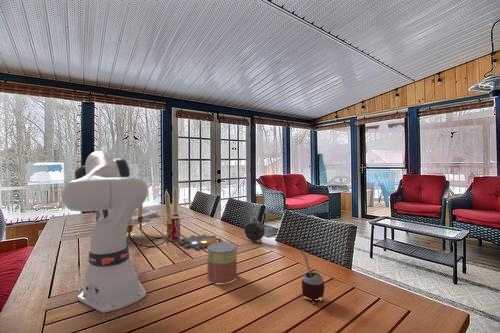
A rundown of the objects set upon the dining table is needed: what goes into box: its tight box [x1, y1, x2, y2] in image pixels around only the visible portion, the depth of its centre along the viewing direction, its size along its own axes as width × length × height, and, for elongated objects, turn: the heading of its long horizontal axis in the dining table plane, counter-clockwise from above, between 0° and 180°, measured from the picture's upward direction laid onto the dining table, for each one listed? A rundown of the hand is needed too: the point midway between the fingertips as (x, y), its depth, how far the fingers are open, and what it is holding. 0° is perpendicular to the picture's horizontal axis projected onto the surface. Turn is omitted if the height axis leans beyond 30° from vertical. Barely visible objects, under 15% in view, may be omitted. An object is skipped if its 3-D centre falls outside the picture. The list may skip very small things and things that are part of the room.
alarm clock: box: [244, 212, 266, 242], centre depth 139 cm, size 11×5×16 cm, turn 58°
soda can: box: [166, 215, 181, 242], centre depth 143 cm, size 7×7×13 cm
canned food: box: [206, 241, 238, 283], centre depth 97 cm, size 11×11×12 cm
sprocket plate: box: [179, 234, 222, 250], centre depth 138 cm, size 22×22×2 cm
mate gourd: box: [299, 248, 325, 302], centre depth 82 cm, size 8×8×15 cm
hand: (154, 218), depth 146 cm, fingers open, 8 cm apart
